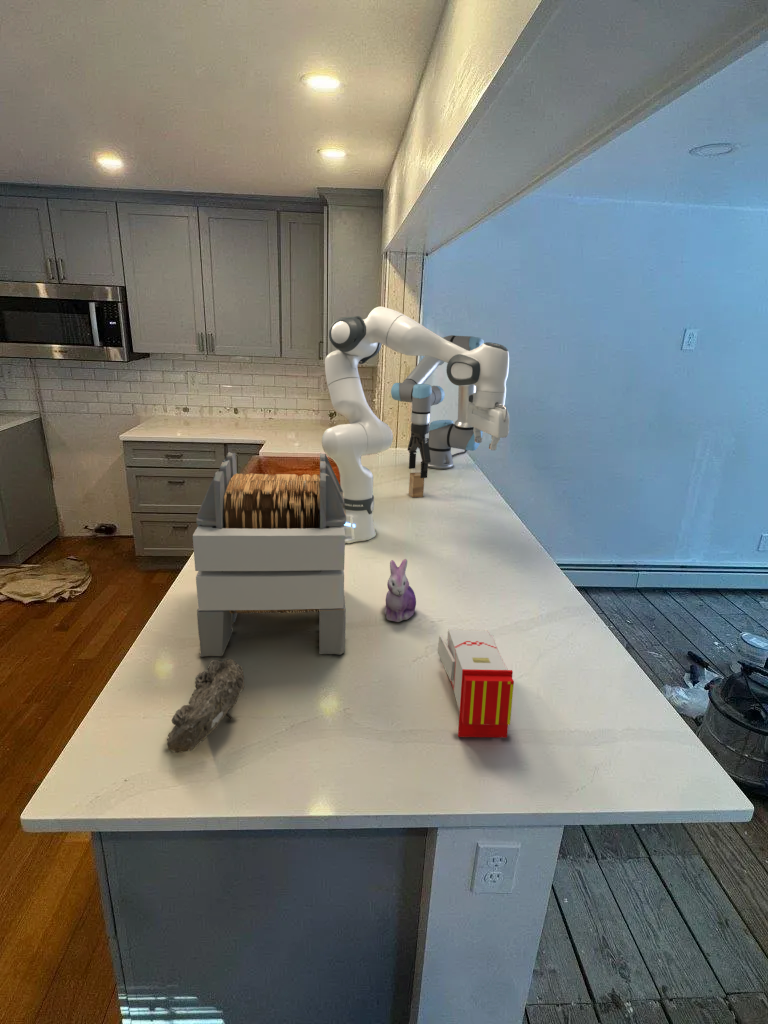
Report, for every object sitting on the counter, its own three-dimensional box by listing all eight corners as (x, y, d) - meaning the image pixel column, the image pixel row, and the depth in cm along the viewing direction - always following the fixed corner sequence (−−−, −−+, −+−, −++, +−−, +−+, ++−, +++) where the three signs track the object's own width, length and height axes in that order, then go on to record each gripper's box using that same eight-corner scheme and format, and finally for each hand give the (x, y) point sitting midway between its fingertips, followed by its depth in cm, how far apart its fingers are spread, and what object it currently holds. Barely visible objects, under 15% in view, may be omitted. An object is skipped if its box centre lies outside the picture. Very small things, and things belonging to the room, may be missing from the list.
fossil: (192, 660, 117) (244, 628, 112) (224, 691, 120) (276, 661, 115) (142, 746, 98) (202, 712, 93) (182, 779, 101) (242, 748, 96)
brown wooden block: (423, 497, 240) (424, 475, 237) (412, 497, 239) (413, 475, 236) (419, 493, 245) (420, 472, 241) (408, 494, 243) (409, 472, 240)
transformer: (222, 587, 157) (213, 443, 143) (340, 586, 160) (343, 445, 147) (197, 659, 125) (183, 482, 111) (345, 655, 129) (349, 484, 115)
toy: (488, 613, 130) (523, 677, 101) (484, 667, 133) (517, 744, 104) (435, 612, 130) (455, 676, 101) (432, 666, 133) (451, 743, 103)
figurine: (392, 627, 141) (395, 572, 136) (374, 608, 149) (376, 556, 144) (425, 619, 145) (429, 566, 140) (405, 601, 154) (408, 550, 149)
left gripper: (517, 406, 159) (511, 454, 164) (483, 395, 177) (479, 438, 182) (497, 406, 157) (492, 454, 162) (465, 395, 175) (461, 439, 180)
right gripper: (441, 429, 221) (437, 481, 229) (417, 416, 243) (415, 464, 251) (423, 430, 219) (420, 482, 227) (401, 417, 241) (399, 465, 249)
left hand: (484, 446), depth 172 cm, fingers open, 8 cm apart
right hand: (417, 473), depth 239 cm, fingers open, 13 cm apart
